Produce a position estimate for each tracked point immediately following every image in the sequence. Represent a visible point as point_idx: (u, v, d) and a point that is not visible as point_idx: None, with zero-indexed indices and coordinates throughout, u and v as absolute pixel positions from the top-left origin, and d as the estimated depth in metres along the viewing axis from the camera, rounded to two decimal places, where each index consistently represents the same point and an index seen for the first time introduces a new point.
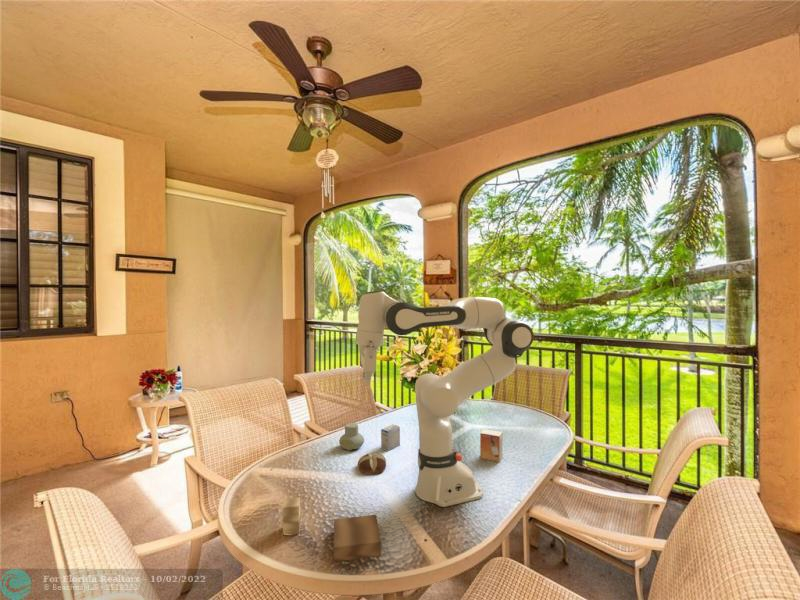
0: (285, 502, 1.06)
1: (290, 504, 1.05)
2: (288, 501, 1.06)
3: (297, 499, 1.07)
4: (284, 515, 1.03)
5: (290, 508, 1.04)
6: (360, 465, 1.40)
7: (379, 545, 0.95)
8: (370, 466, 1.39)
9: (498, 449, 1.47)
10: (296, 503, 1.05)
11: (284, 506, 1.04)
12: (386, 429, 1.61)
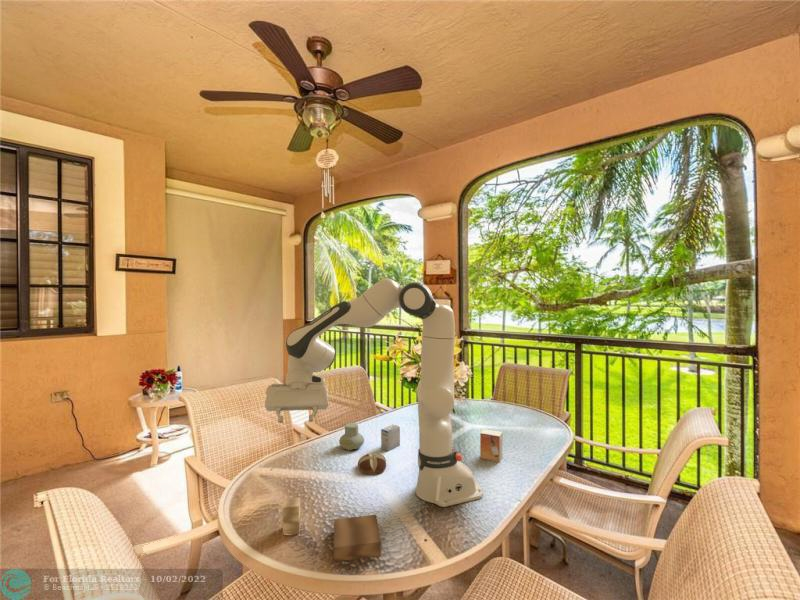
0: (285, 502, 1.06)
1: (290, 504, 1.05)
2: (288, 501, 1.06)
3: (297, 499, 1.07)
4: (284, 515, 1.03)
5: (290, 508, 1.04)
6: (360, 465, 1.40)
7: (379, 545, 0.95)
8: (370, 466, 1.39)
9: (498, 449, 1.47)
10: (296, 503, 1.05)
11: (284, 506, 1.04)
12: (386, 429, 1.61)
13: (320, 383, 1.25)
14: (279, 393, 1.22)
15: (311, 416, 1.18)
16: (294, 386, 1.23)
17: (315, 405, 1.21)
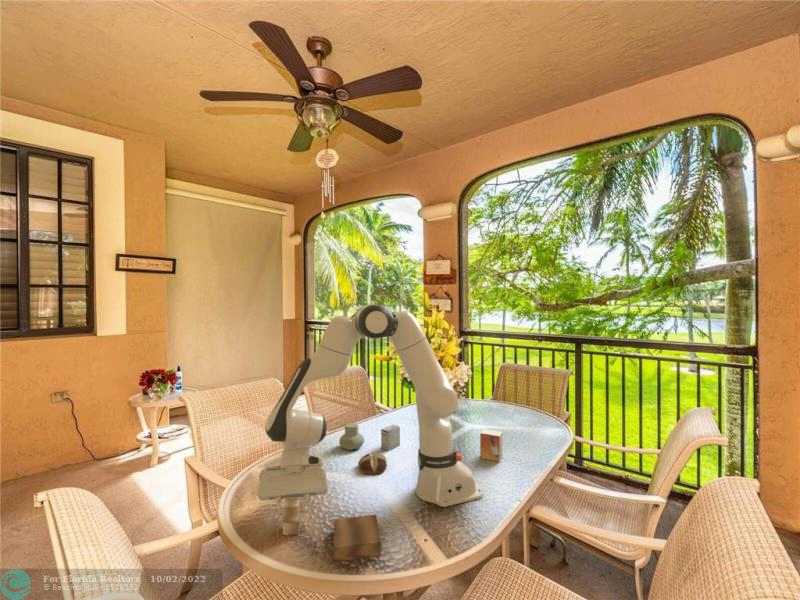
0: (285, 502, 1.06)
1: (290, 504, 1.05)
2: (288, 501, 1.06)
3: (297, 499, 1.07)
4: (284, 515, 1.03)
5: (290, 508, 1.04)
6: (361, 465, 1.40)
7: (379, 545, 0.95)
8: (371, 466, 1.39)
9: (498, 449, 1.47)
10: (296, 503, 1.05)
11: (284, 506, 1.04)
12: (386, 429, 1.61)
13: (318, 464, 1.14)
14: (273, 479, 1.11)
15: (302, 507, 1.07)
16: (289, 470, 1.12)
17: (313, 492, 1.09)
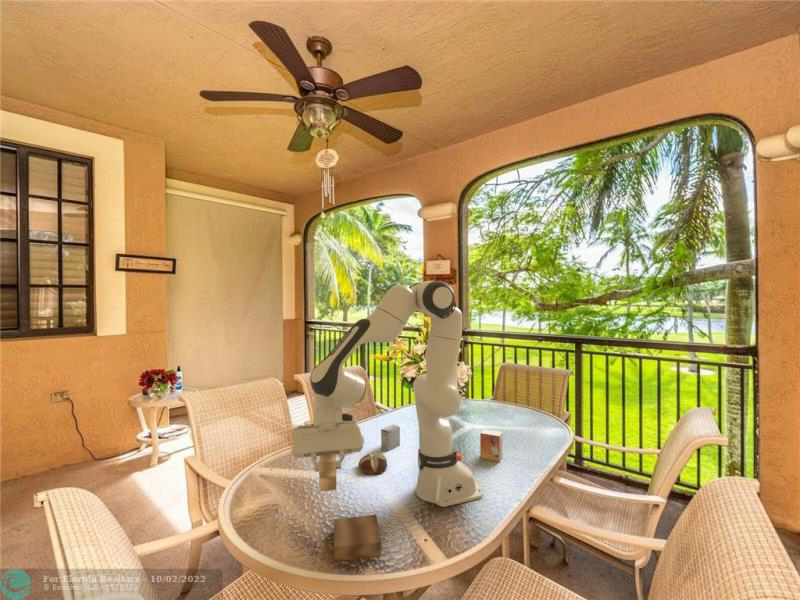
0: (321, 458, 1.03)
1: (326, 459, 1.02)
2: (323, 457, 1.03)
3: (332, 455, 1.04)
4: (320, 470, 1.00)
5: (326, 462, 1.00)
6: (361, 465, 1.40)
7: (379, 545, 0.95)
8: (371, 466, 1.38)
9: (498, 449, 1.47)
10: (332, 458, 1.02)
11: (320, 461, 1.01)
12: (386, 429, 1.61)
13: (352, 422, 1.10)
14: (307, 436, 1.07)
15: (338, 463, 1.04)
16: (323, 427, 1.08)
17: (348, 448, 1.06)
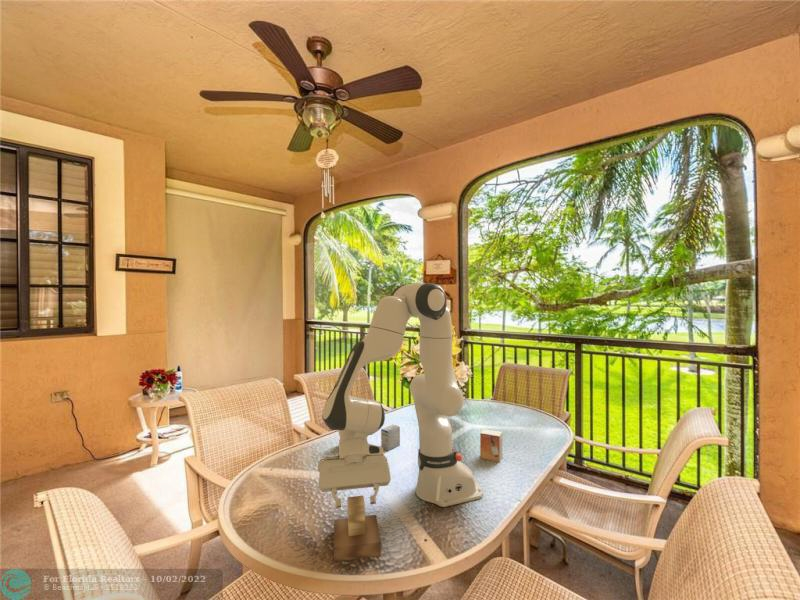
0: (349, 500, 1.00)
1: (354, 502, 0.99)
2: (352, 499, 1.00)
3: (361, 497, 1.01)
4: (350, 514, 0.97)
5: (356, 506, 0.98)
6: None
7: (379, 545, 0.95)
8: None
9: (498, 449, 1.47)
10: (361, 501, 0.99)
11: (349, 504, 0.98)
12: (386, 429, 1.61)
13: (379, 454, 1.08)
14: (334, 469, 1.05)
15: (373, 497, 1.01)
16: (350, 460, 1.06)
17: (376, 483, 1.03)
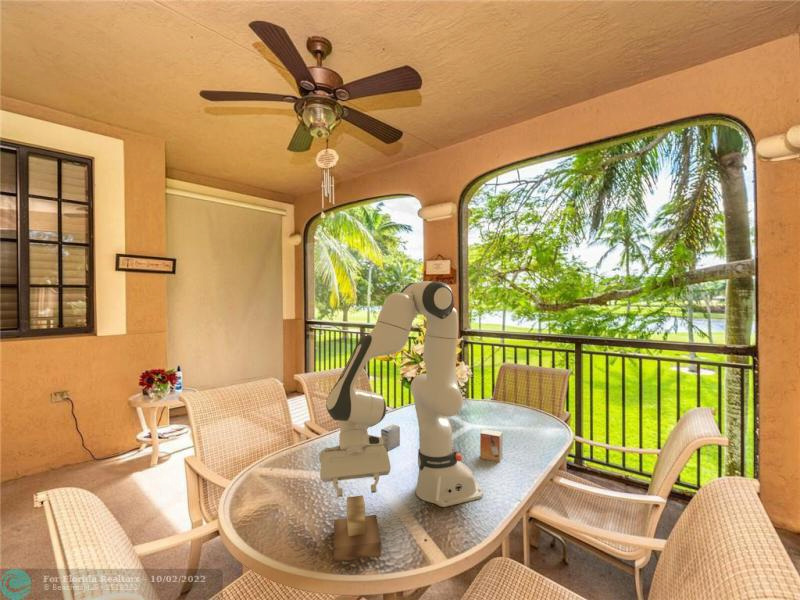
0: (349, 500, 1.00)
1: (354, 502, 0.99)
2: (351, 499, 1.00)
3: (360, 497, 1.02)
4: (350, 514, 0.97)
5: (356, 506, 0.98)
6: None
7: (379, 545, 0.95)
8: None
9: (498, 449, 1.47)
10: (361, 501, 1.00)
11: (349, 504, 0.98)
12: (386, 429, 1.61)
13: (379, 444, 1.10)
14: (335, 460, 1.07)
15: (373, 486, 1.04)
16: (350, 451, 1.08)
17: (376, 472, 1.06)
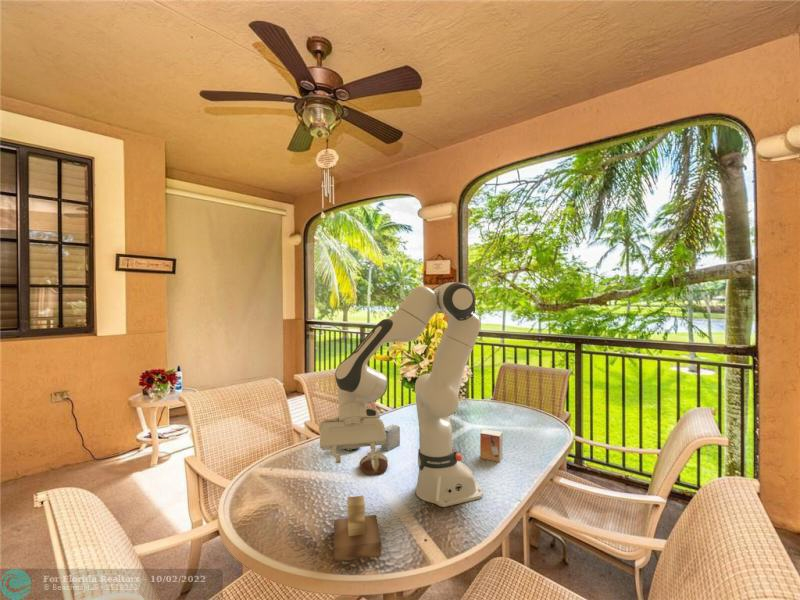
0: (349, 500, 1.00)
1: (354, 502, 0.99)
2: (352, 499, 1.00)
3: (360, 497, 1.01)
4: (349, 514, 0.97)
5: (356, 506, 0.98)
6: (362, 465, 1.40)
7: (379, 545, 0.95)
8: (372, 466, 1.38)
9: (498, 449, 1.47)
10: (361, 501, 0.99)
11: (349, 505, 0.98)
12: (386, 429, 1.61)
13: (375, 416, 1.16)
14: (334, 429, 1.13)
15: (370, 454, 1.10)
16: (349, 421, 1.14)
17: (373, 441, 1.12)
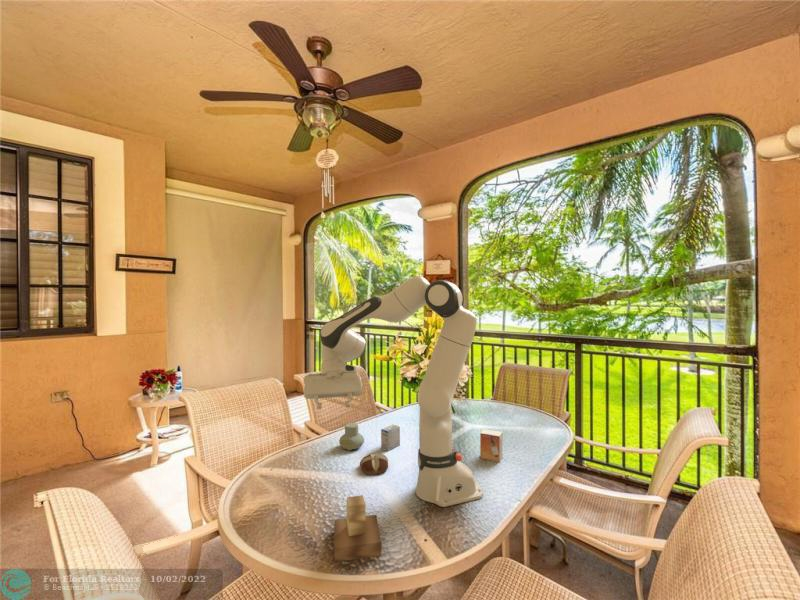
0: (349, 500, 1.00)
1: (355, 502, 0.99)
2: (352, 499, 1.00)
3: (360, 497, 1.02)
4: (350, 514, 0.97)
5: (357, 506, 0.98)
6: (362, 465, 1.40)
7: (380, 546, 0.95)
8: (372, 466, 1.38)
9: (498, 449, 1.47)
10: (362, 501, 1.00)
11: (350, 504, 0.98)
12: (386, 429, 1.61)
13: (353, 371, 1.32)
14: (316, 381, 1.29)
15: (347, 402, 1.26)
16: (329, 375, 1.30)
17: (350, 392, 1.28)
